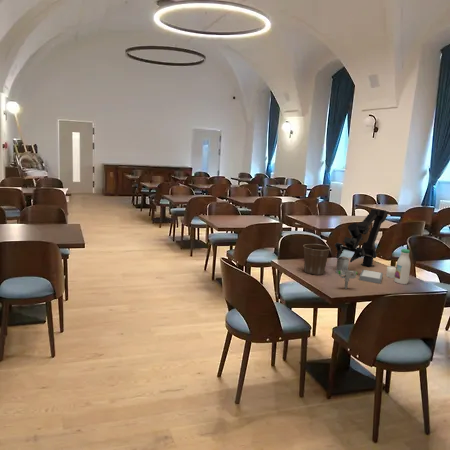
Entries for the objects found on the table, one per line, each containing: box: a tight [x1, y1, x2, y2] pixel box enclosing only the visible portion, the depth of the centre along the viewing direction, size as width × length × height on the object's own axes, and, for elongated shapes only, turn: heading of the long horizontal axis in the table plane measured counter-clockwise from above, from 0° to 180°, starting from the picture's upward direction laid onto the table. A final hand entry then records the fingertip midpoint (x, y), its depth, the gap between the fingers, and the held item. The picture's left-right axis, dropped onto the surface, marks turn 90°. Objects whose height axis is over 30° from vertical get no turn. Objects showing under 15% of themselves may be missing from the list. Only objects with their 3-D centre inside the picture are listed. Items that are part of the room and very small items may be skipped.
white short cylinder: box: [385, 265, 396, 279], centre depth 271 cm, size 6×6×6 cm
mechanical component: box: [337, 269, 358, 290], centre depth 240 cm, size 3×10×10 cm, turn 95°
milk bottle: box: [393, 248, 411, 285], centre depth 259 cm, size 8×8×20 cm
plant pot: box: [302, 243, 331, 276], centre depth 268 cm, size 16×16×16 cm
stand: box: [358, 269, 384, 285], centre depth 264 cm, size 16×12×3 cm
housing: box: [335, 256, 350, 275], centre depth 270 cm, size 6×4×10 cm
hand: (343, 260), depth 270 cm, fingers open, 9 cm apart
